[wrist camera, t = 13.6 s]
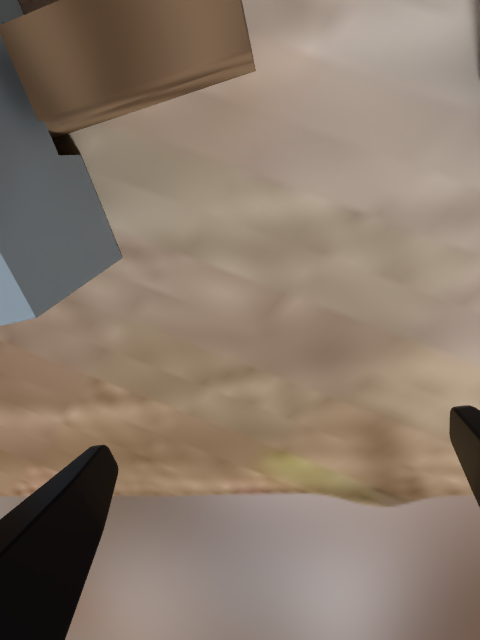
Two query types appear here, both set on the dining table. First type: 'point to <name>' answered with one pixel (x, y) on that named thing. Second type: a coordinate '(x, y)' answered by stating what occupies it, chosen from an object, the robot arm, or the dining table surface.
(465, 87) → the dining table surface
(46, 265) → the blue long flat plate
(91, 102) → the brown wooden bar
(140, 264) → the dining table surface
